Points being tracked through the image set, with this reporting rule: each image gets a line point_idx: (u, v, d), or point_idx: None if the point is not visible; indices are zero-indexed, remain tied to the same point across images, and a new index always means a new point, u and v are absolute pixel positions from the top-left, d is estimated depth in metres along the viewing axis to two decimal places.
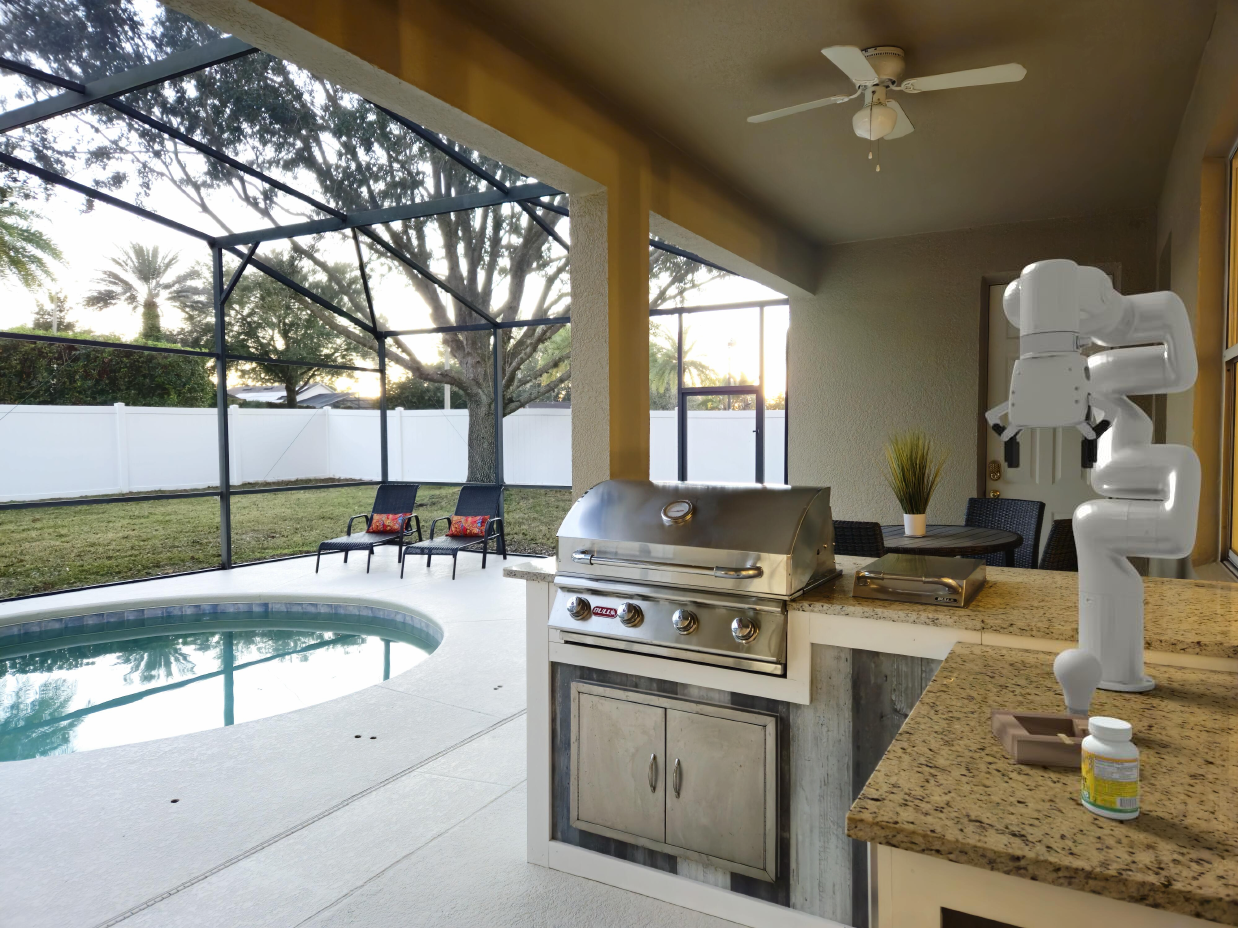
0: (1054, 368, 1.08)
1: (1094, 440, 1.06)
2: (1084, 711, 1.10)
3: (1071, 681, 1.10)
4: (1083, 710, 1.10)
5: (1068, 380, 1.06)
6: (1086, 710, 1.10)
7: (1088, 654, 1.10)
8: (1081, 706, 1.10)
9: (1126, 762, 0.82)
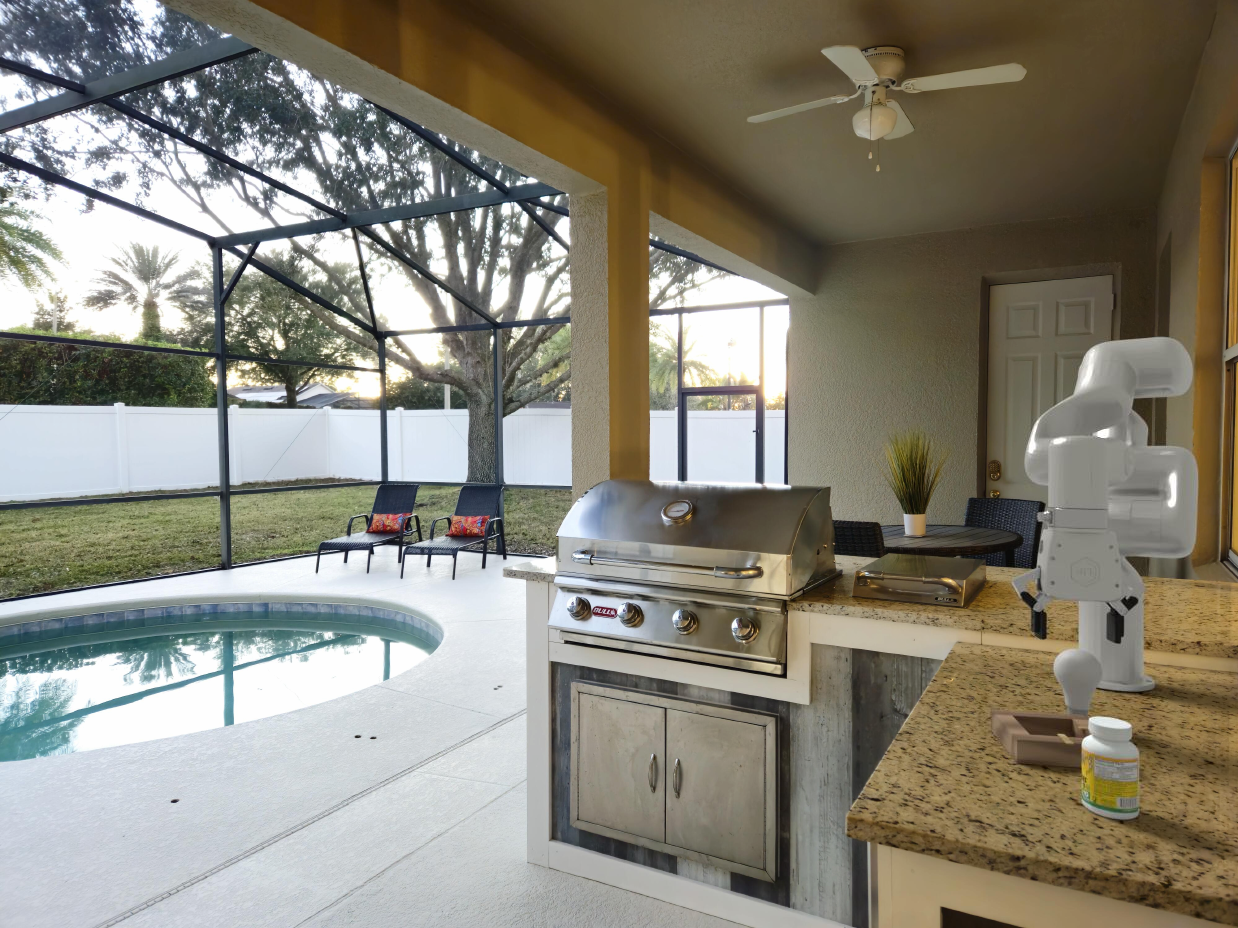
0: None
1: (1031, 610, 1.13)
2: (1084, 711, 1.10)
3: (1071, 681, 1.10)
4: (1083, 710, 1.10)
5: None
6: (1086, 710, 1.10)
7: (1088, 654, 1.10)
8: (1081, 706, 1.10)
9: (1126, 762, 0.82)
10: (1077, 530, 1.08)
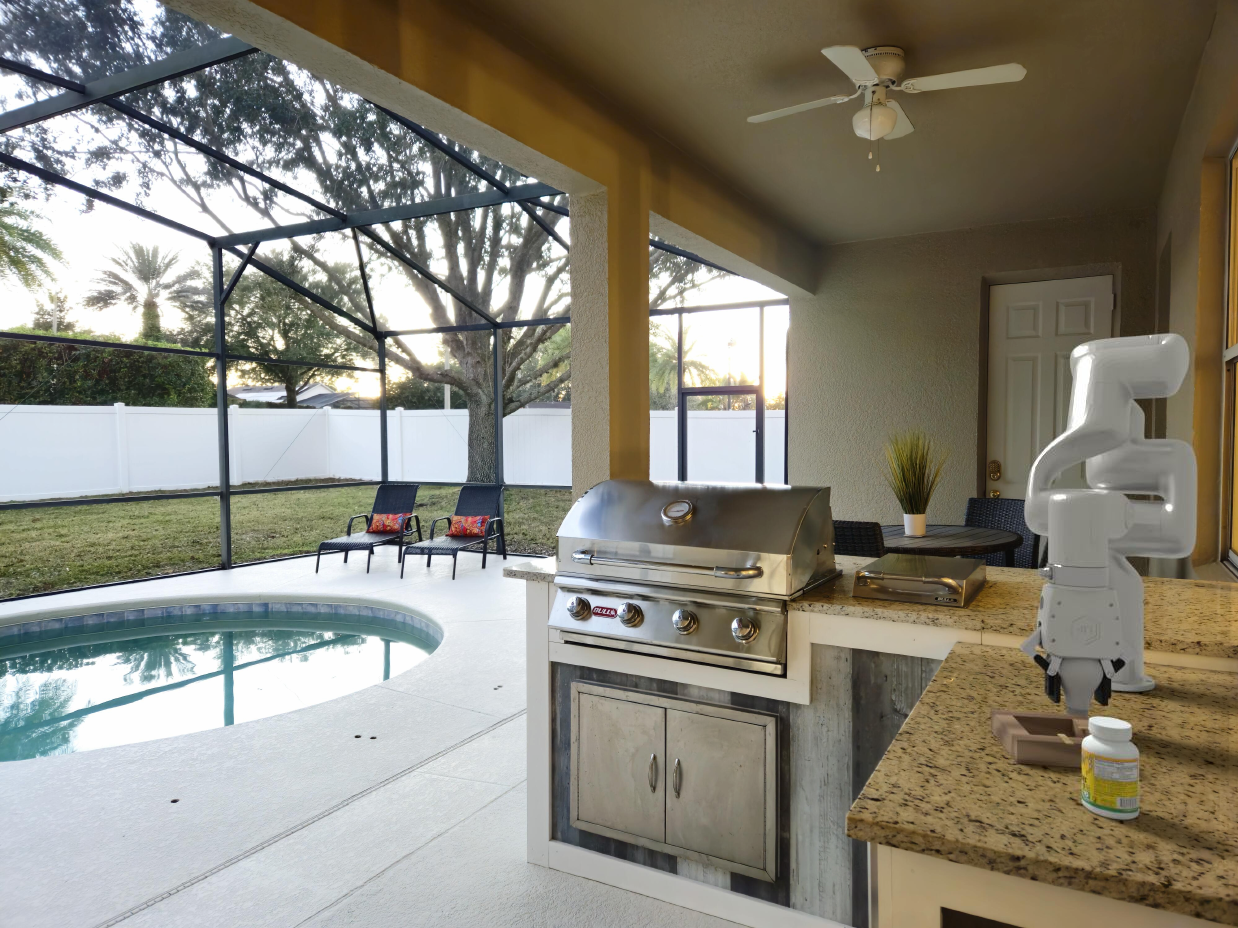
0: None
1: (1047, 673, 1.13)
2: (1084, 711, 1.10)
3: (1071, 681, 1.09)
4: (1083, 709, 1.10)
5: None
6: (1086, 710, 1.10)
7: None
8: (1081, 706, 1.10)
9: (1126, 762, 0.82)
10: (1077, 588, 1.08)
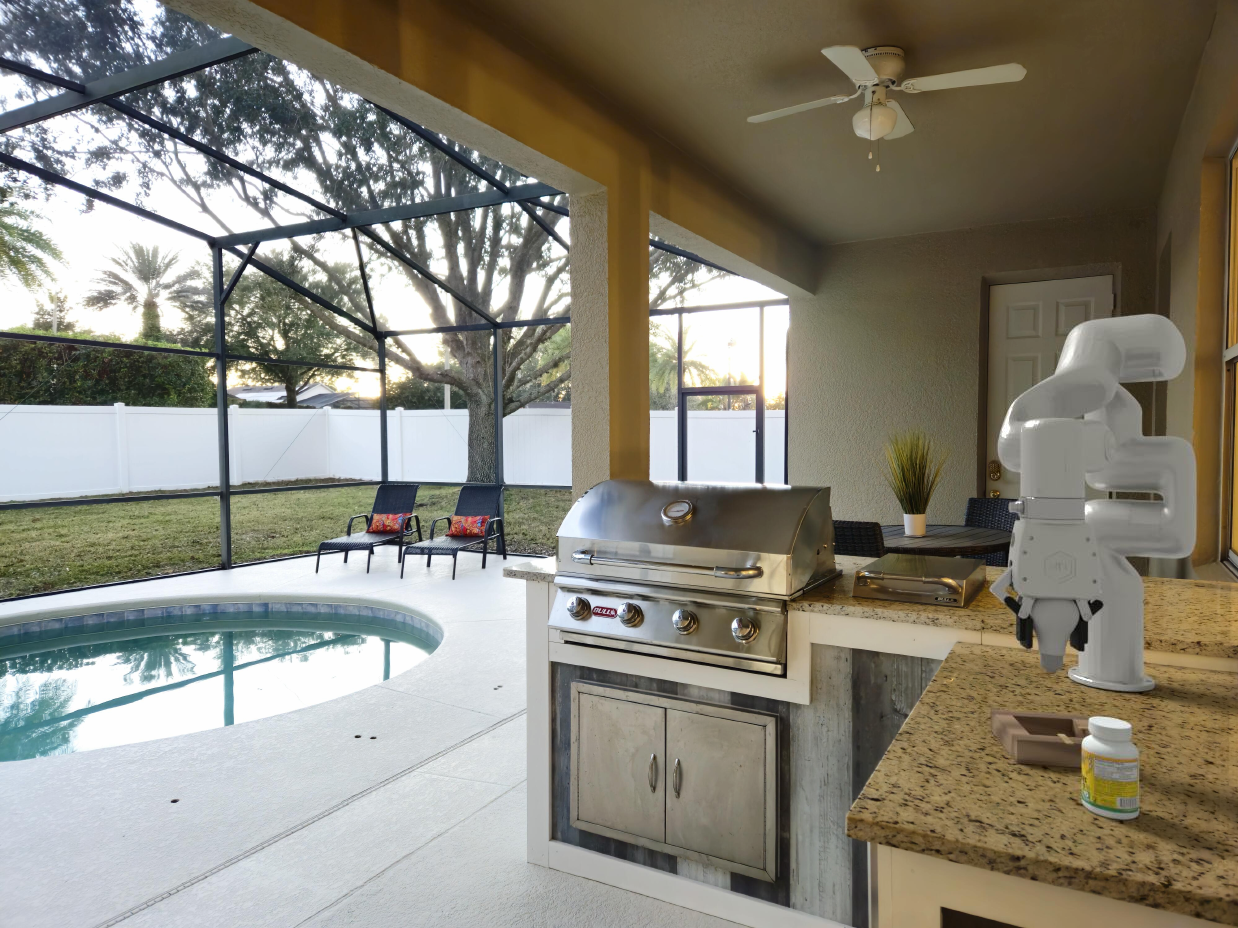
0: None
1: None
2: (1059, 657, 1.01)
3: (1044, 623, 1.00)
4: (1057, 655, 1.01)
5: None
6: (1061, 656, 1.01)
7: None
8: (1055, 651, 1.00)
9: (1126, 762, 0.82)
10: (1051, 521, 0.99)
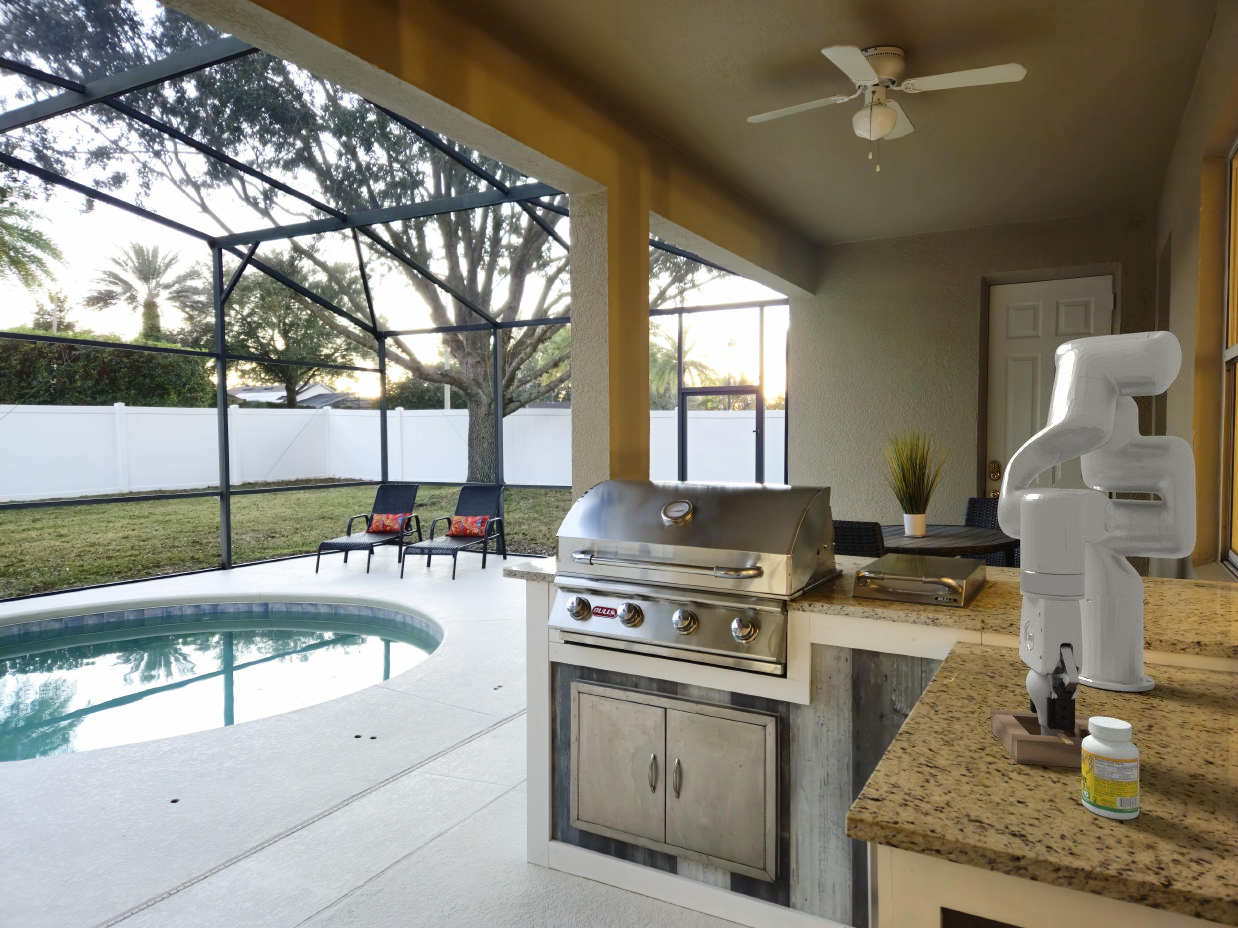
0: None
1: None
2: (1043, 728, 1.02)
3: None
4: (1042, 726, 1.02)
5: None
6: (1045, 728, 1.01)
7: None
8: (1039, 721, 1.02)
9: (1126, 762, 0.82)
10: (1020, 591, 1.04)
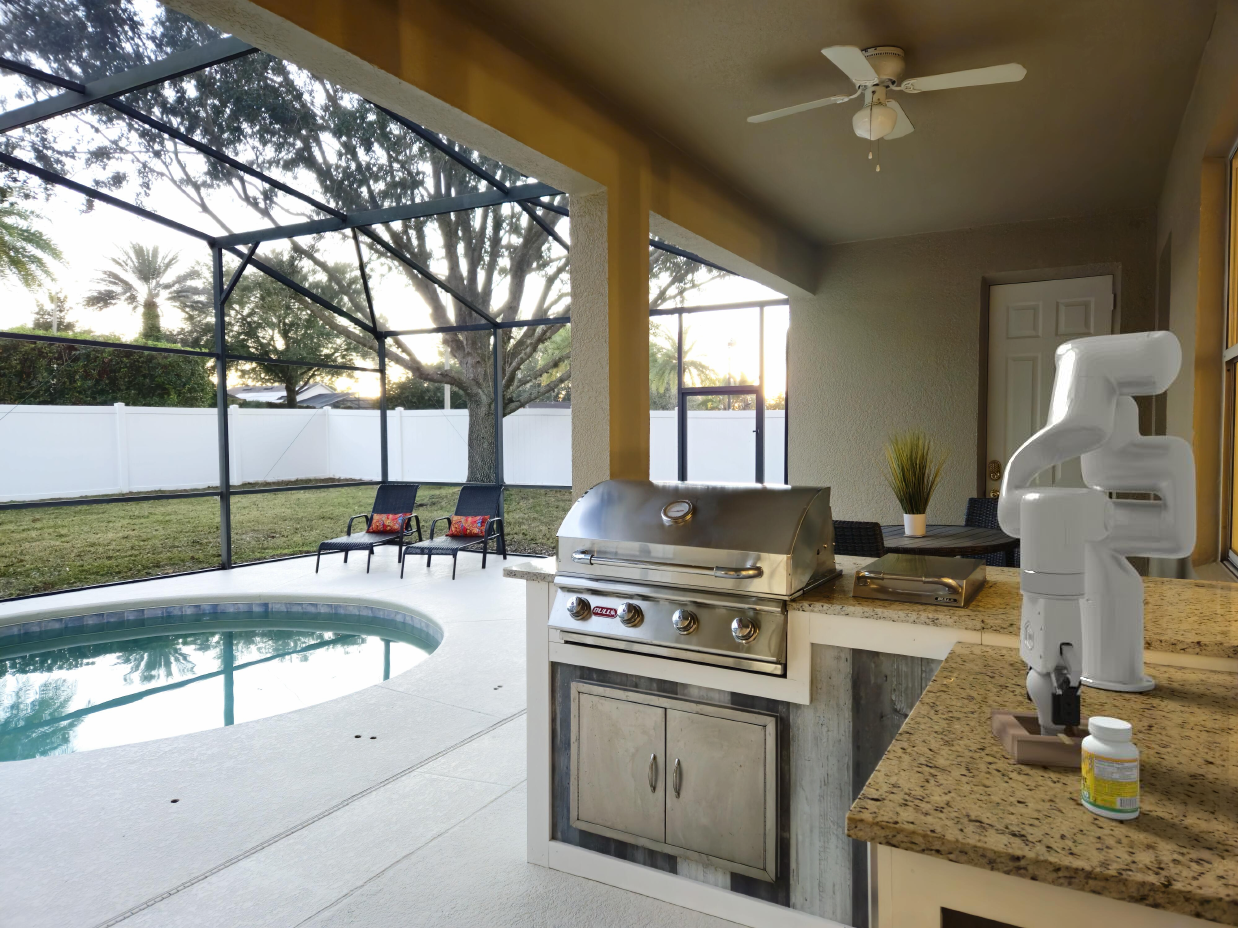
0: None
1: None
2: (1043, 728, 1.02)
3: None
4: (1043, 726, 1.02)
5: None
6: (1045, 728, 1.01)
7: None
8: (1039, 721, 1.02)
9: (1126, 762, 0.82)
10: (1020, 590, 1.04)
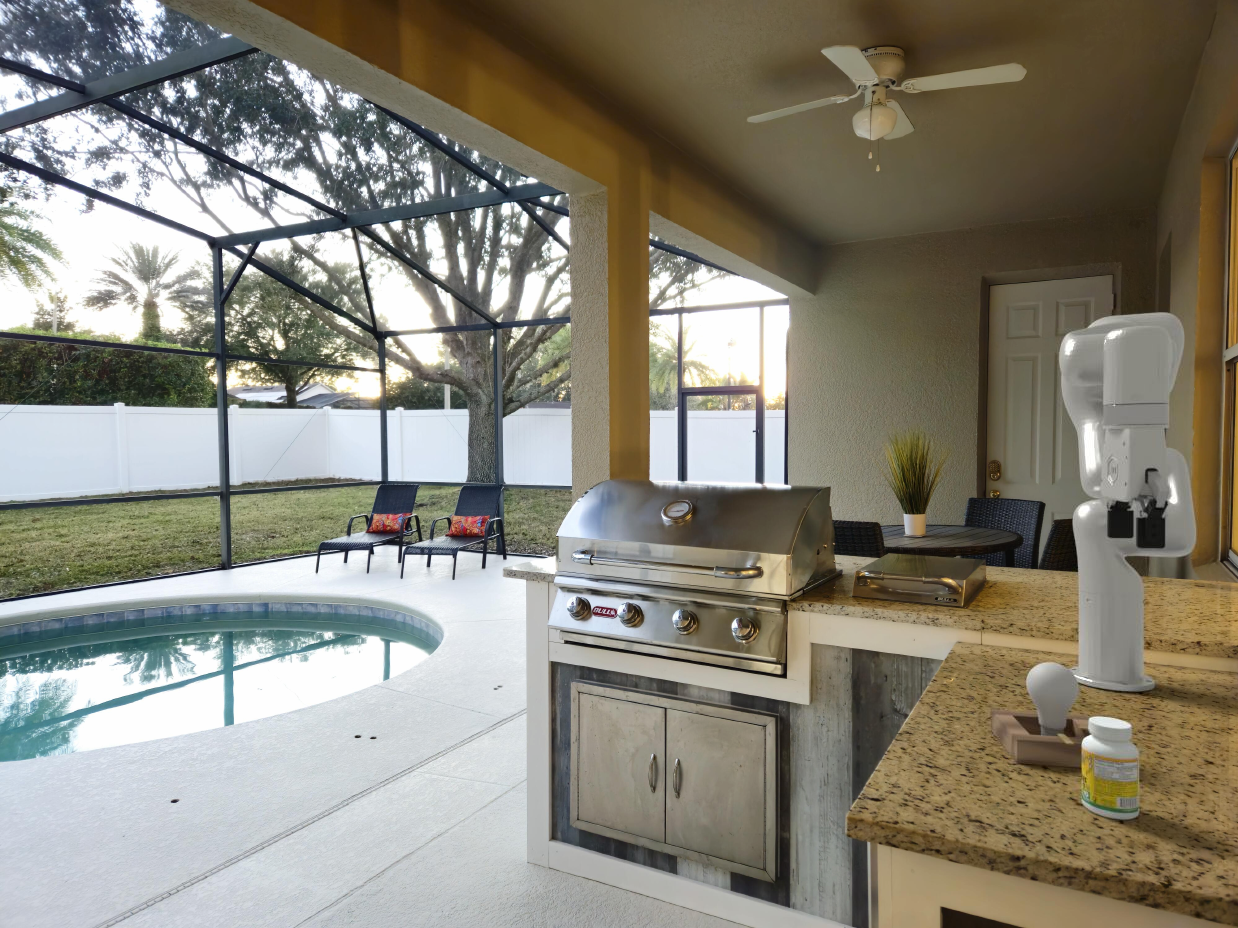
0: None
1: None
2: (1043, 728, 1.02)
3: None
4: (1043, 726, 1.02)
5: None
6: (1045, 728, 1.01)
7: (1046, 667, 1.01)
8: (1039, 721, 1.02)
9: (1126, 762, 0.82)
10: (1103, 427, 1.07)
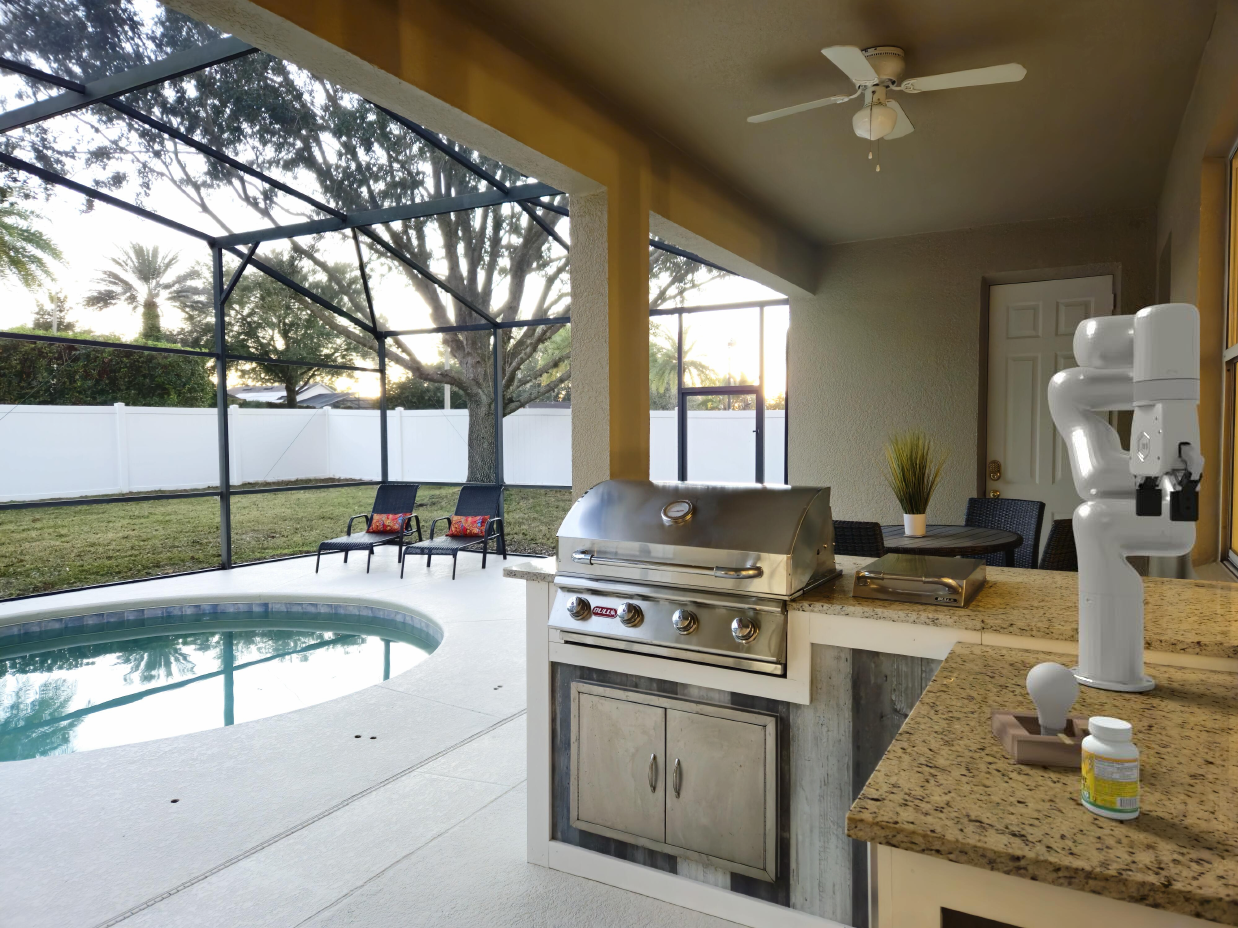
0: None
1: None
2: (1043, 728, 1.02)
3: None
4: (1043, 726, 1.02)
5: None
6: (1045, 728, 1.01)
7: (1046, 667, 1.01)
8: (1039, 721, 1.02)
9: (1127, 762, 0.82)
10: (1133, 404, 1.08)
